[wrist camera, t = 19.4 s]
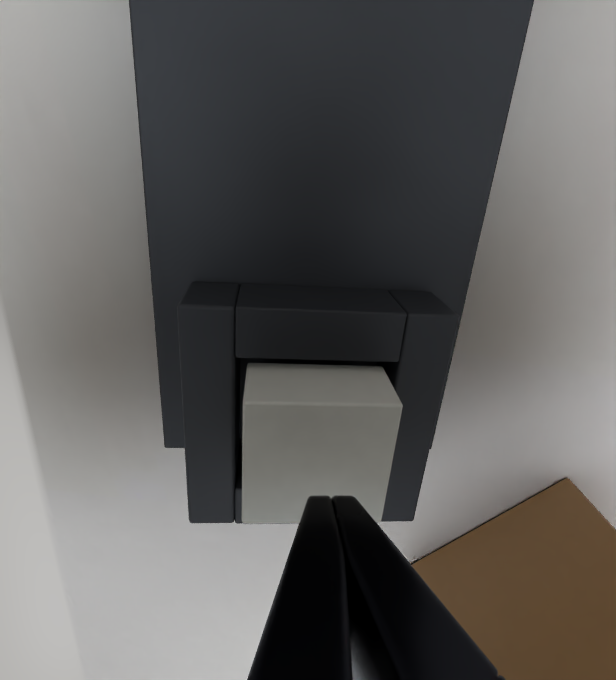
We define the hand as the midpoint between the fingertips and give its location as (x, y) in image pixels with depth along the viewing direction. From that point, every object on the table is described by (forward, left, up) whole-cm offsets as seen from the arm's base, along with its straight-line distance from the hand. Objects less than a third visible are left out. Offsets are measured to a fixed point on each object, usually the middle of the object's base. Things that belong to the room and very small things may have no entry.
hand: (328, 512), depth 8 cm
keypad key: (0, 0, -3) cm, 3 cm away
